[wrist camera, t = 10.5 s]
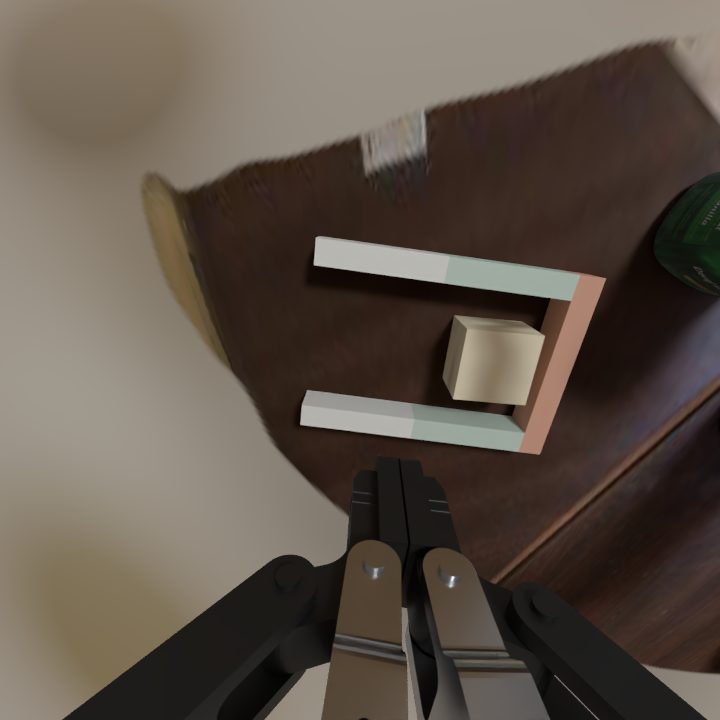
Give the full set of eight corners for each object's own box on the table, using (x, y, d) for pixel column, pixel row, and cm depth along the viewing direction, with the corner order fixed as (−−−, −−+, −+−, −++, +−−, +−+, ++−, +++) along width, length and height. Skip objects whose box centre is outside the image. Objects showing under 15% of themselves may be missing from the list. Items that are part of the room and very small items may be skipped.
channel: (583, 273, 29) (606, 278, 27) (525, 436, 35) (539, 454, 32) (320, 236, 29) (315, 237, 26) (305, 408, 34) (300, 424, 32)
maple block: (521, 321, 31) (545, 335, 27) (505, 382, 33) (525, 405, 29) (453, 315, 31) (467, 329, 27) (442, 377, 33) (452, 399, 29)
